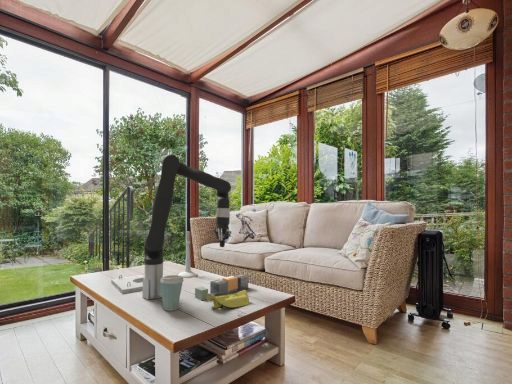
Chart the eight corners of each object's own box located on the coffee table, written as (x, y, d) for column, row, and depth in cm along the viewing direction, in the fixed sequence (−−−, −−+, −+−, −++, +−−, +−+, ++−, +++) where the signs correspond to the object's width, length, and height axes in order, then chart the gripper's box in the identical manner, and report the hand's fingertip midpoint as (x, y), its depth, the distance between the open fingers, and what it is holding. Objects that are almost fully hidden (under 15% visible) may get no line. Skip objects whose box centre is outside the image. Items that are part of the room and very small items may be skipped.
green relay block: (201, 300, 149) (201, 290, 149) (194, 297, 153) (195, 288, 153) (208, 298, 152) (208, 288, 152) (201, 296, 156) (201, 286, 156)
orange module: (228, 291, 159) (228, 279, 159) (222, 289, 163) (222, 277, 163) (237, 288, 164) (237, 276, 165) (231, 286, 168) (231, 275, 168)
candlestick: (186, 278, 190) (186, 232, 191) (173, 275, 197) (174, 230, 198) (201, 275, 200) (201, 230, 201) (188, 272, 208) (189, 229, 209)
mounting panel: (175, 276, 177) (122, 285, 159) (175, 285, 177) (122, 294, 159) (160, 268, 198) (111, 275, 180) (159, 276, 198) (111, 283, 180)
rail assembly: (214, 299, 151) (214, 284, 151) (205, 296, 155) (205, 282, 156) (249, 288, 170) (249, 275, 170) (240, 285, 175) (240, 273, 175)
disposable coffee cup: (158, 306, 140) (158, 274, 141) (181, 303, 144) (181, 272, 145) (160, 314, 130) (161, 279, 131) (185, 310, 135) (185, 277, 135)
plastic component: (235, 293, 153) (247, 288, 147) (238, 308, 150) (250, 304, 144) (202, 298, 140) (213, 293, 134) (204, 315, 137) (216, 310, 131)
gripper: (210, 215, 169) (209, 246, 168) (225, 216, 160) (224, 249, 159) (220, 215, 174) (219, 245, 174) (235, 216, 165) (234, 247, 165)
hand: (222, 246), depth 167 cm, fingers closed
